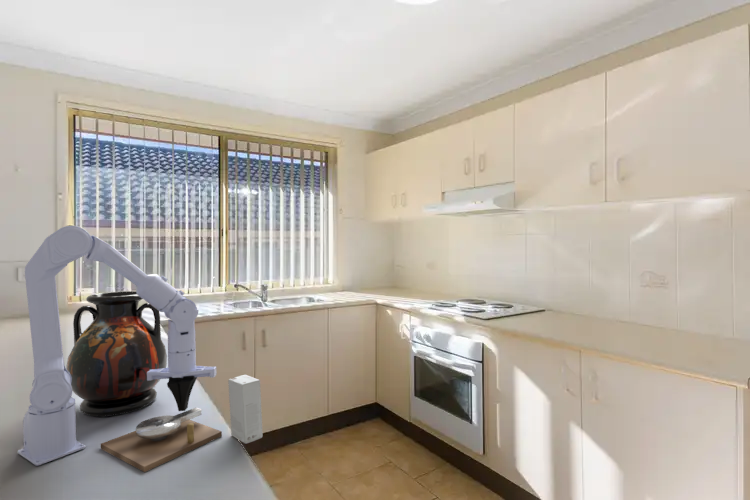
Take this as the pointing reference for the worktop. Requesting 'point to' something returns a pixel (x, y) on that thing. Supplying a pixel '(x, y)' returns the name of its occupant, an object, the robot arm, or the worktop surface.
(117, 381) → the amphora vase
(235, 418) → the skincare box
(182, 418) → the silver disc with handle
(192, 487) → the worktop surface
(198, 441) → the base board
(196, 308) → the robot arm
